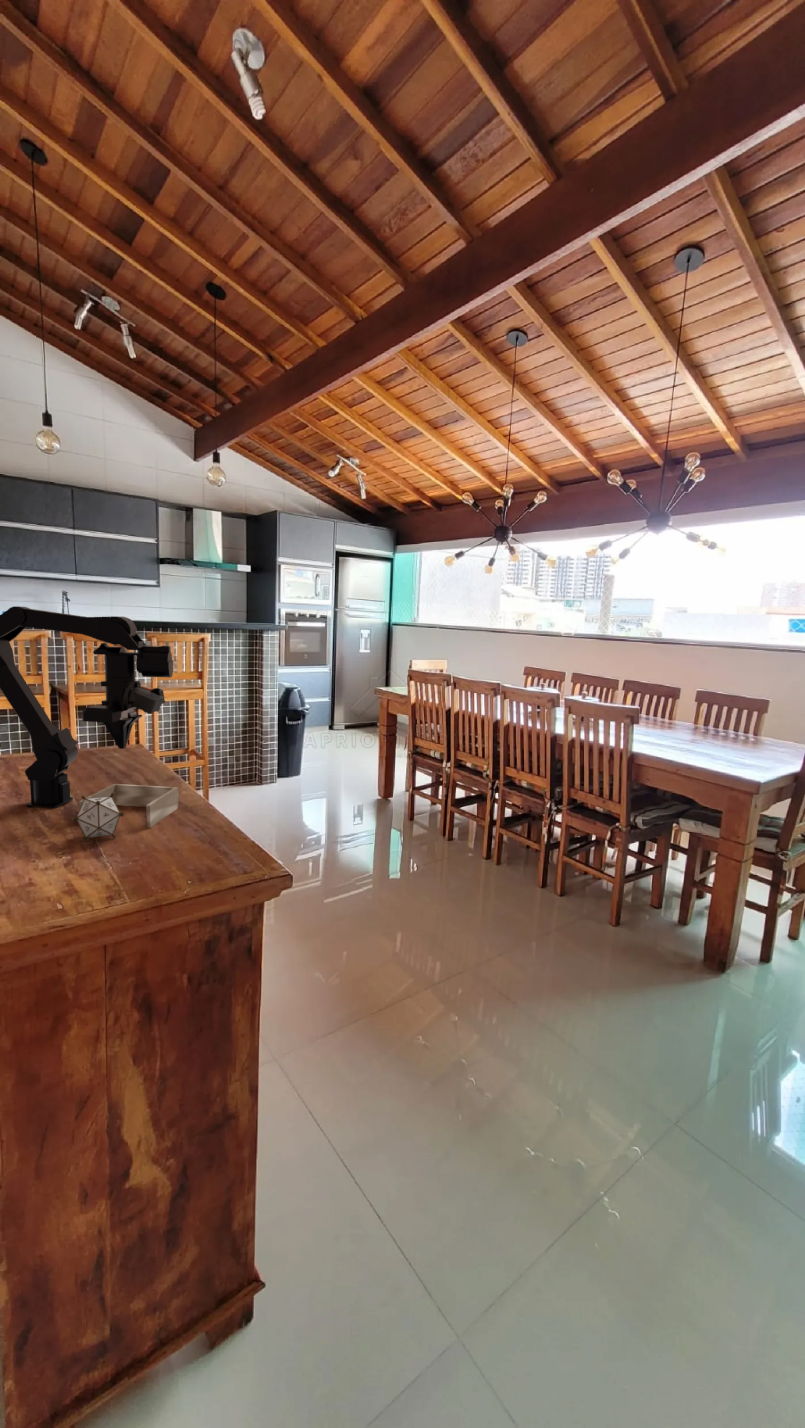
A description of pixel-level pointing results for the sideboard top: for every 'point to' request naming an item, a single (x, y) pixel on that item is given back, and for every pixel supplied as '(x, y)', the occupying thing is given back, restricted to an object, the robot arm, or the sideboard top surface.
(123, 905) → the sideboard top surface
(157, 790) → the cubby
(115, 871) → the sideboard top surface
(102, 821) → the game die
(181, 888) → the sideboard top surface
